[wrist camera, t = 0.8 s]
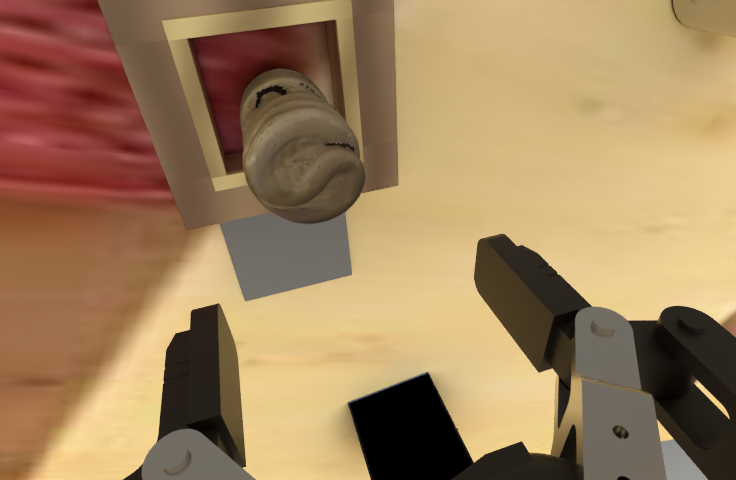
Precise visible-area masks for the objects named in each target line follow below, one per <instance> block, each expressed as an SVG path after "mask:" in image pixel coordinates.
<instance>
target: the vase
mask: <svg viewBox="0 0 736 480" xmlns="http://www.w3.org/2000/svg"><path fill="white" fill-rule="evenodd" d="M348 405H349V408H350V412H351V415H352V418H353V422H354V425H355V428H356V432H357V435H358V438H359V441H360V445H361V448H362V451H363V455H364V458H365V461H366V465H367V468H368V471H369V475H370V478H371V480H450V479H453V478H455V477H456V476H457V475H459V474H460V473H461V472H463V471H464V470H465V469H467V468H468V467H469V466H471V465H472V464H473V463H474V462H473V460H472V458H471V456H470V454H469V452H468V450H467V448H466V446H465V444H464V442H463V440H462V438H461V436H460V434H459V432H458V429H457V428H456V427H455V425H454V423H453V421H452V419H451V417H450V415H449V413H448V411H447V409H446V407H445V405H444V403H443V401H442V399H441V397H440V395H439V393H438V391H437V389H436V387H435V385H434V383H433V381H432V379H431V377H430V375H429V373H428V372H427V373H424V374H421V375H419V376H416V377H413V378H411V379H408V380H406V381H403V382H400V383H398V384H395V385H393V386H390V387H387V388H385V389H382V390H380V391H377V392H374V393H372V394H369V395H366V396H364V397H361V398H359V399H356V400H353V401H351V402H348Z"/></svg>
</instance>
